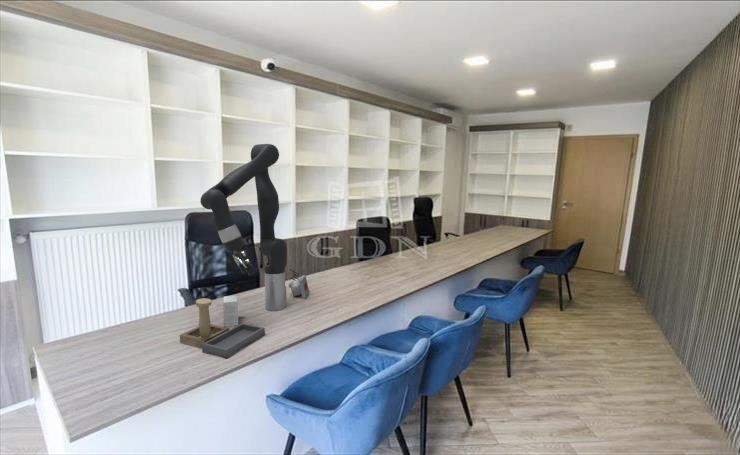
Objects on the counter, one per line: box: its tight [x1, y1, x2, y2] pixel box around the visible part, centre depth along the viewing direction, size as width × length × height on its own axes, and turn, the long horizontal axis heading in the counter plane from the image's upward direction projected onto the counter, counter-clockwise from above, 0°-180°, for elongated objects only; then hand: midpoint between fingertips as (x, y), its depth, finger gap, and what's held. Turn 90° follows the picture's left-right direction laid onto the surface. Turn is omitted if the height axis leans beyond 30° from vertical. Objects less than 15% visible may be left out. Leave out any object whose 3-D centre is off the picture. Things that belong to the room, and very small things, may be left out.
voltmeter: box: [288, 269, 310, 300], centre depth 190 cm, size 27×11×10 cm, turn 35°
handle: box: [195, 297, 212, 339], centre depth 133 cm, size 5×6×15 cm
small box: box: [222, 295, 239, 328], centre depth 149 cm, size 8×6×10 cm
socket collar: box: [179, 323, 230, 349], centre depth 134 cm, size 12×12×3 cm
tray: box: [201, 322, 266, 359], centre depth 131 cm, size 20×11×3 cm, turn 158°
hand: (248, 274), depth 145 cm, fingers open, 8 cm apart
